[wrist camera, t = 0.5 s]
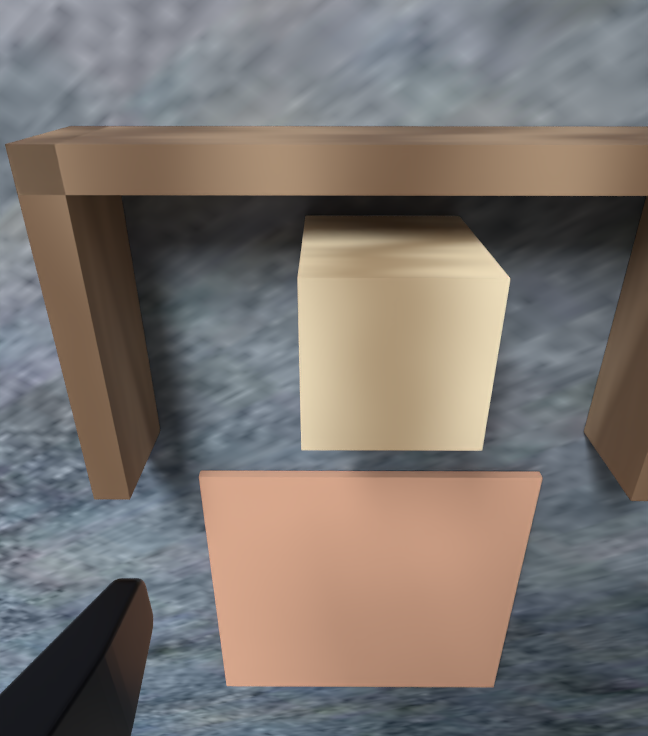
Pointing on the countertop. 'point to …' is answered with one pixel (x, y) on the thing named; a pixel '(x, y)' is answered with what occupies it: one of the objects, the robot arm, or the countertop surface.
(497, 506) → the mat
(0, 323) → the countertop surface
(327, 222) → the maple block
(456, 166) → the open side box
